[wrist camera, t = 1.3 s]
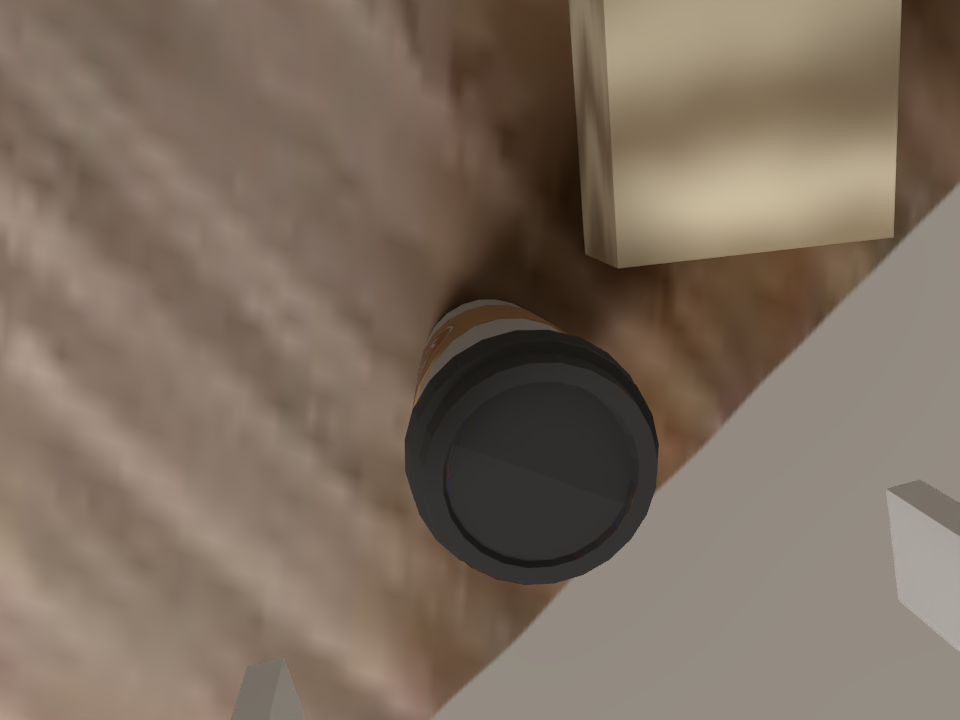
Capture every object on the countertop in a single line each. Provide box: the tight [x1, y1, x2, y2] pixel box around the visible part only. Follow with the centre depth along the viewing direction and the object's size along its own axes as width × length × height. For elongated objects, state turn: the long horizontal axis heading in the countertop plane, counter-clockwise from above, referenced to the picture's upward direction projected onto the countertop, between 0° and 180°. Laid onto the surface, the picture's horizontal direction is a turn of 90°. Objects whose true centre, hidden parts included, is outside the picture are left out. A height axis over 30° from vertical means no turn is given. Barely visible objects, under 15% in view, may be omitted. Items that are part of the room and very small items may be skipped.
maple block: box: [569, 0, 902, 268], centre depth 34 cm, size 12×12×6 cm
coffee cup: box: [405, 299, 659, 585], centre depth 31 cm, size 8×8×15 cm
